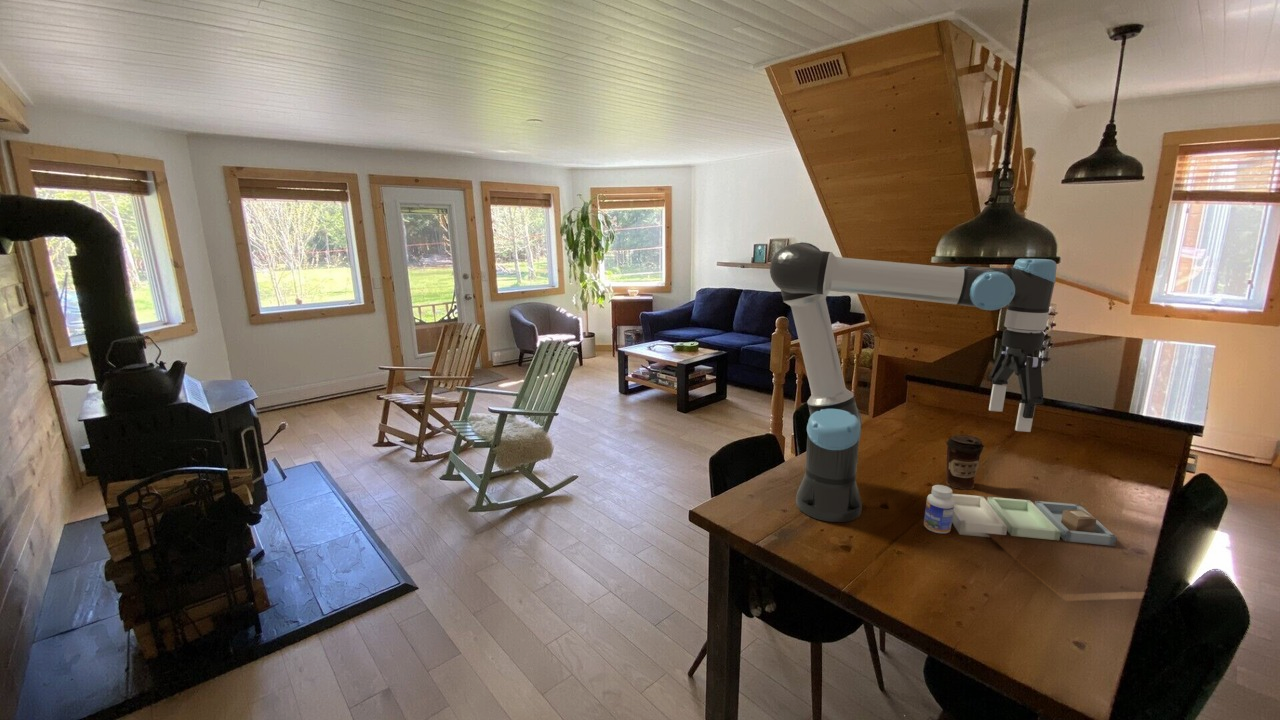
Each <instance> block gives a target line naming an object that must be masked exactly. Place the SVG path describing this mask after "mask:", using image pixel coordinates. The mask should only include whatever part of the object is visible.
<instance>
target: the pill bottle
mask: <svg viewBox="0 0 1280 720" xmlns="http://www.w3.org/2000/svg"><path fill="white" fill-rule="evenodd" d="M952 494H953V489H952V488H951V487H949V486H947V485H943V484H935V485H933V486H932V487H931V493H929V494H928V495H927V497H926V502H925V503H926V504H925V511H924V518H923V526H924V527H925V528H926V529H927V530H928V531H930V532H933V533H937V534H948V533H950V532H951V529H952V524H953V523H952V517H953V510H954V500H953V499H952V498H951V497H952Z"/></svg>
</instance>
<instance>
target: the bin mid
mask: <svg viewBox="0 0 1280 720" xmlns="http://www.w3.org/2000/svg"><path fill="white" fill-rule="evenodd" d="M986 501H987V502H988V503H989V504H990V506H991V507H992V508H993V509H994V511H995V512H996V513H997V514H998V516H999V517H1000V518H1001V519H1002V521H1003V522H1004V523H1005V524H1006V525H1007V532H1008V534H1009V535H1010V536H1012V537H1020V538H1031V539H1039V540H1041V539H1042V540H1049V541H1050V540H1051V541H1060V538H1061V537H1060V534H1061V531H1060V530H1059V529H1058V528H1057V527H1056V526H1055V525H1054V524H1053V523H1052V522H1051V521H1050V520H1049V519H1048V518H1047V517H1046V516H1045V515H1044V514H1043V513H1042V512H1041V511H1040V510H1039V509H1038V508H1037V507H1036V506H1035V503H1034V502H1032V501H1031V500H1030V499H1019V498H1018V499H1017V498H1016V499H1015V498H1008V497H1006V498H1005V497H998V496H997V497H996V496H995V497H994V496H987V499H986Z"/></svg>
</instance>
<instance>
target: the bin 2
mask: <svg viewBox="0 0 1280 720" xmlns="http://www.w3.org/2000/svg"><path fill="white" fill-rule="evenodd" d="M1034 505H1035V506H1036V507H1037V508H1038V509H1039V510H1040V511H1041V512H1042V513H1043V514H1044V515H1045V516H1046V517H1047V518H1048V519H1049V520H1050V521H1051V522H1052V523H1053V524H1054V525H1055V526H1056V527H1057V528H1058V529H1059V530H1060V531H1061V534H1060V538H1061V539H1062V540H1063V541H1064V542H1070V543H1071V542H1072V543H1081V544H1090V545H1091V544H1092V545H1099V546H1102V545H1103V546H1112V547H1115V546H1116V541H1117V536H1116V535H1115V534H1114V533H1112V532H1111V531H1110V530H1109V529H1108V528H1107V527H1106V526H1104V525H1103V524H1102V523H1101V522H1100V521H1099V520H1098V519H1097V520H1096V525H1095V530H1094V533H1091V532H1080V531H1070V530H1068V529H1067V528H1066V527H1065V526H1064V525H1063V524H1062V523H1061V520H1062V514H1063V510H1075V509H1081V510H1083V511H1085V512H1086V513H1088V514H1090V515H1091V516H1093V515H1092V514H1091V513H1090V512H1088V511H1087V510H1086V509H1085V508H1084V507H1083V506H1081V505H1080V504H1076V503H1067V502H1066V503H1065V502H1054V501H1053V502H1052V501H1042V500H1035V501H1034Z"/></svg>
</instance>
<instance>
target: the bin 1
mask: <svg viewBox="0 0 1280 720" xmlns="http://www.w3.org/2000/svg"><path fill="white" fill-rule="evenodd" d="M951 498H952V499H953V500H954V510H953V517H952V524H953V527H954V528H955V529H956V531H957V533H958V535H961V536H972V537H980V538H992V536H990V535H1001V536H1007V532H1008V531H1007V525H1006V524H1005V523H1004V522H1003V521H1002V519H1001V518H1000V517H999V516H998V514H997V513H996V512H995V511H994V509H993V508H992V507H991V506H990V504H989V503H988V502H987V499H986V498H985V497H984V496H983V495H970V494H960V493H952V497H951Z"/></svg>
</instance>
